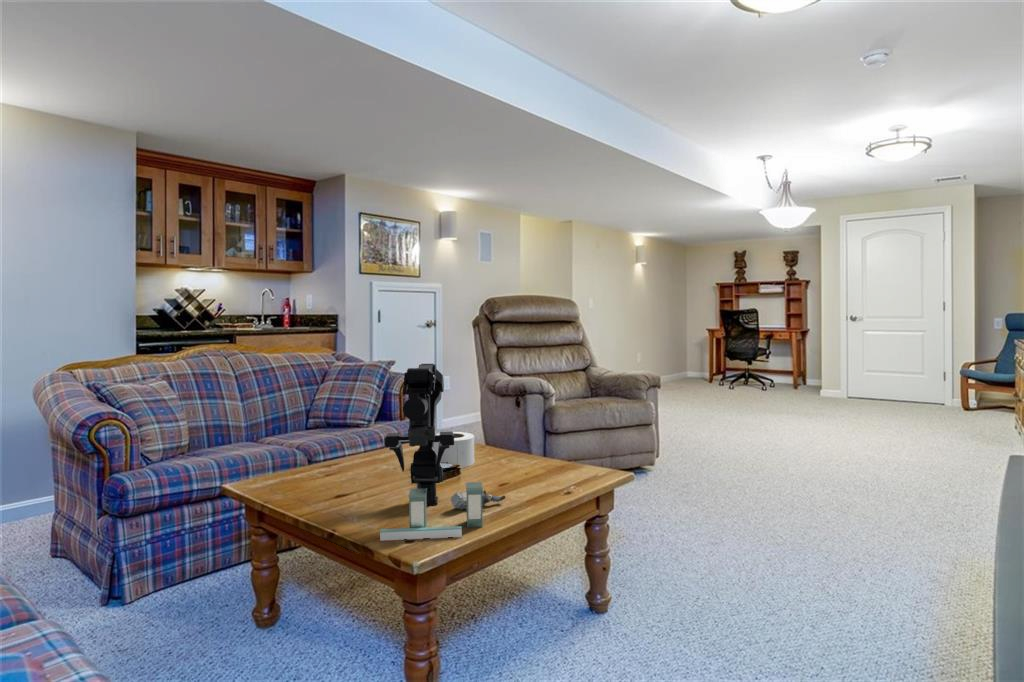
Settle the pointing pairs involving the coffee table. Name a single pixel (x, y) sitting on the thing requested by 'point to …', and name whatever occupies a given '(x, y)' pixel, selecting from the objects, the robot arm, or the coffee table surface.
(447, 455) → the object
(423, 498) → the tea tin
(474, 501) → the twin tin
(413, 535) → the rail
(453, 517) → the coffee table surface
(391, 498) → the coffee table surface
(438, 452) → the robot arm
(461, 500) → the toy
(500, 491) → the coffee table surface
